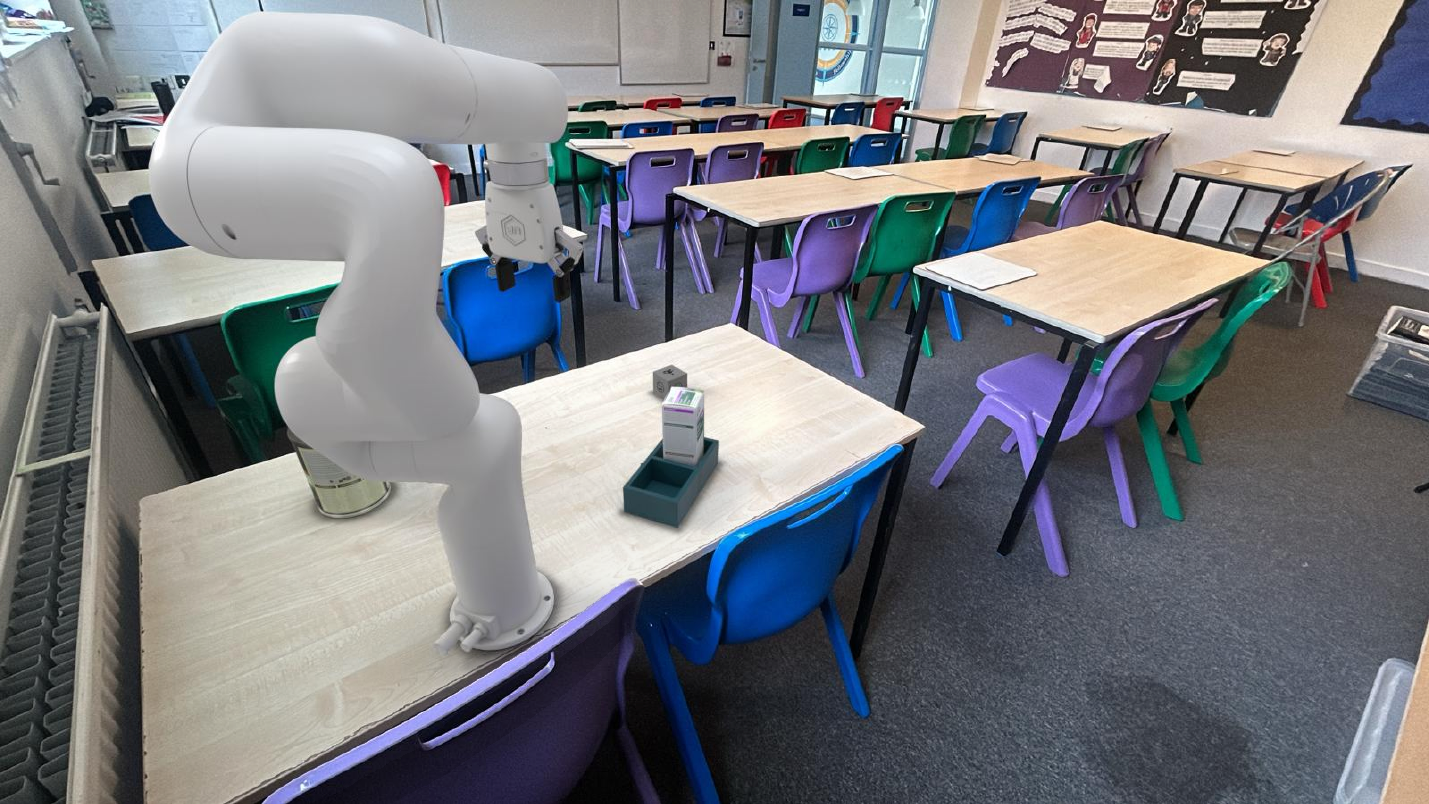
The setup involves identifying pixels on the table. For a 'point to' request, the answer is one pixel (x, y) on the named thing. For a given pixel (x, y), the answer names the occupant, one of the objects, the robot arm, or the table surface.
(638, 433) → the table surface
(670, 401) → the syrup box
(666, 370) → the dice cube
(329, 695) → the table surface
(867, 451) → the table surface
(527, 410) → the table surface
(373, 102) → the robot arm
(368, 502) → the coffee can
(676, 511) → the tray
